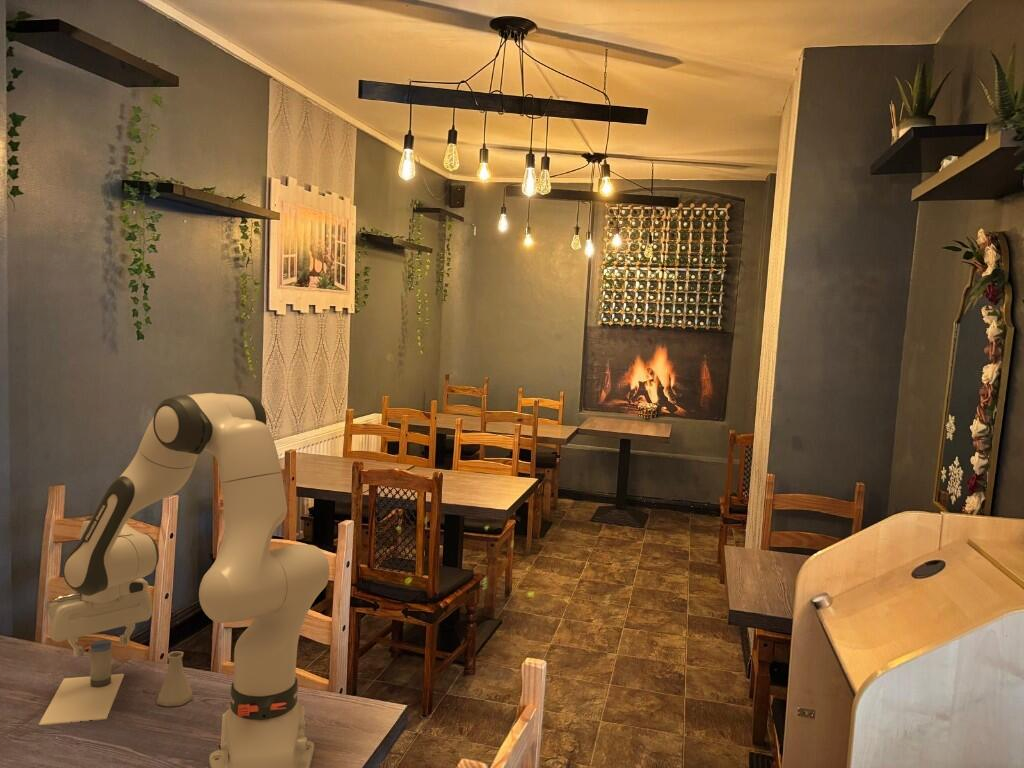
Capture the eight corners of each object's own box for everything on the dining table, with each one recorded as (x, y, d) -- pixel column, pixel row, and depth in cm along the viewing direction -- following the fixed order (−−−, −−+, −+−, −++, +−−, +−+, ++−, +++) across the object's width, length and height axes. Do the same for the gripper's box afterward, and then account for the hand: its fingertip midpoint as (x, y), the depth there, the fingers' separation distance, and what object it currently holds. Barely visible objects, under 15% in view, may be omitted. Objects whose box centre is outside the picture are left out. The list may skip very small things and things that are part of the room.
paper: (106, 719, 155) (106, 717, 155) (38, 725, 152) (38, 724, 152) (124, 674, 174) (124, 673, 174) (64, 679, 171) (64, 678, 171)
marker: (109, 686, 168) (109, 646, 167) (88, 688, 167) (88, 648, 166) (112, 678, 172) (112, 639, 171) (92, 679, 171) (92, 640, 170)
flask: (184, 708, 161) (185, 662, 160) (149, 707, 161) (150, 660, 160) (198, 692, 168) (199, 647, 168) (165, 690, 168) (165, 646, 168)
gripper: (53, 602, 158) (53, 668, 159) (155, 581, 173) (155, 641, 174) (43, 594, 162) (43, 658, 163) (143, 574, 177) (143, 633, 178)
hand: (102, 649), depth 168 cm, fingers open, 8 cm apart
